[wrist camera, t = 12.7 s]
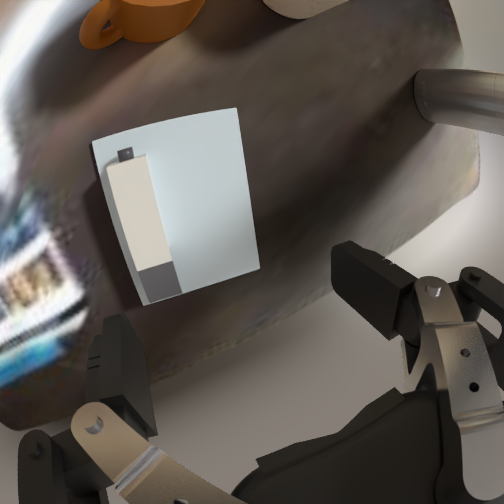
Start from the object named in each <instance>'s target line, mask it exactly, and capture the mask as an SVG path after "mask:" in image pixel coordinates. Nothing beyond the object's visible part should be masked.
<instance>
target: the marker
mask: <svg viewBox="0 0 504 504" xmlns="http://www.w3.org/2000/svg"><path fill="white" fill-rule="evenodd" d="M117 154H118V159H119V161H118V162H114V163H111V164H110V165H109V166H107V167H106V169H107V173H108V177H109V181H110V185H111V189H112V192H113V196H114V200H115V203H116V207H117V210H118V214H119V217H120V221H121V224H122V227H123V230H124V233H125V237H126V240H127V243H128V246H129V249H130V252H131V255H132V258H133V260H134V263H135V266H136V269H137V272H138V274H139V277H140V280H141V282H142V285H143V288H144V290H145V293H146V295H147V298H148V300H149V303H152V302H156V301H159V300H162V299H165V298H168V297H172V296H175V295H178V294H181V293H182V290H181V287H180V283H179V280H178V277H177V274H176V271H175V267H174V264H173V261H172V257H171V254H170V250H169V247H168V243H167V240H166V236H165V232H164V229H163V225H162V221H161V217H160V214H159V210H158V206H157V202H156V198H155V193H154V189H153V185H152V181H151V176H150V172H149V167H148V163H147V158H146V154H141V155H138V156H134V153H133V148H132V147H129V148H125V149H122V150H119V151H117Z"/></svg>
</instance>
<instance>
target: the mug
mask: <svg viewBox="0 0 504 504" xmlns="http://www.w3.org/2000/svg"><path fill="white" fill-rule="evenodd" d="M205 1H206V0H101V1H100V2H98V3H97V4H96V5H95V6H94V7H93V8H92V10H91V11H90V12H89V13H88V14H87V16H86V17H85V19H84V21H83V22H82V25H81V27H80V32H79V40H80V42H81V44H82V46H84V47H85V48H87V49H91V50H97V49H101V48H104V47H106V46H108V45H110V44H112V43H114V42H116V41H117V40H119V39H120V38H121V37H123V38H126V39H128V40H130V41H133V42H140V43H153V42H161V41H164V40H166V39H169V38H172V37H175V36H176V35H178V34H179V33H181V32H182V31H184V30H185V29H186V28H187V27H188V26H189V25H190V23H191V22H192V21H193V20H194V18H195V17H196V15H197V14H198V12H199V10H200V9H201V7H202V6H203V4H204V3H205ZM108 20H109V21H110V23H111V26H110V27H108V28H107V29H105V30H102V31H101V29H102V27H103V26H104V25H105V23H106V22H107V21H108Z"/></svg>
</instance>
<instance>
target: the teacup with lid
mask: <svg viewBox="0 0 504 504" xmlns="http://www.w3.org/2000/svg"><path fill="white" fill-rule="evenodd" d="M262 1H263V2H264V3H265V4H266V5H267V6H268V7H270V8H271V9H272V10H274V11H275V12H277V13H279V14H281V15H283V16H286V17H289V18H294V19H306V18H310V17H313V16H315V15H317V14H319V13H321V12H323V11H325V10H328V9H330V8H332V7H334V6H337V5H339V4H341V3H344V2H346V1H349V0H262Z"/></svg>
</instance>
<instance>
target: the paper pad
mask: <svg viewBox="0 0 504 504" xmlns="http://www.w3.org/2000/svg"><path fill="white" fill-rule="evenodd" d="M92 145H93V149H94V154H95V158H96V163H97V167H98V171H99V175H100V179H101V183H102V187H103V191H104V194H105V198H106V201H107V205H108V208H109V212H110V215H111V218H112V221H113V225H114V228H115V231H116V234H117V237H118V240H119V243H120V246H121V249H122V252H123V255H124V257H125V260H126V263H127V266H128V268H129V271H130V274H131V276H132V279H133V282H134V284H135V287H136V289H137V292H138V294H139V297H140V299H141V301H142V304H143V306H145V305H148V304H151V303H149V300H148V298H147V295H146V293H145V290H144V288H143V285H142V282H141V280H140V277H139V274H138V272H137V269H136V266H135V263H134V260H133V258H132V255H131V252H130V249H129V246H128V243H127V240H126V237H125V233H124V230H123V227H122V224H121V221H120V217H119V214H118V210H117V207H116V203H115V200H114V196H113V192H112V189H111V185H110V181H109V177H108V173H107V169H106V167H107V166H109V165H110V164H111V163H114V162H118V161H119V159H118V154H117V151H119V150H122V149H125V148H129V147H132V148H133V153H134V156H138V155H141V154H146V158H147V163H148V167H149V172H150V176H151V181H152V185H153V189H154V193H155V198H156V202H157V206H158V210H159V214H160V217H161V221H162V225H163V229H164V232H165V236H166V240H167V243H168V247H169V250H170V254H171V257H172V261H173V264H174V267H175V271H176V274H177V277H178V280H179V283H180V287H181V290H182V293H181V294H183V293H186V292H190V291H193V290H196V289H199V288H202V287H205V286H208V285H211V284H215V283H218V282H221V281H224V280H227V279H230V278H233V277H236V276H239V275H242V274H245V273H248V272H251V271H254V270H257V269H260V264H259V257H258V250H257V243H256V236H255V229H254V223H253V216H252V209H251V202H250V195H249V188H248V182H247V175H246V168H245V161H244V155H243V148H242V141H241V134H240V128H239V121H238V115H237V108H231V109H224V110H218V111H212V112H206V113H200V114H195V115H190V116H185V117H180V118H175V119H170V120H166V121H162V122H158V123H153V124H149V125H146V126H142V127H138V128H134V129H131V130H127V131H124V132H120V133H117V134H114V135H110V136H107V137H104V138H101V139H98V140H95V141H92ZM178 295H180V294H178ZM175 296H177V295H175ZM172 297H174V296H172ZM168 298H171V297H168ZM165 299H167V298H165ZM162 300H164V299H162ZM159 301H161V300H159ZM156 302H158V301H156ZM152 303H155V302H152Z"/></svg>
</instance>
